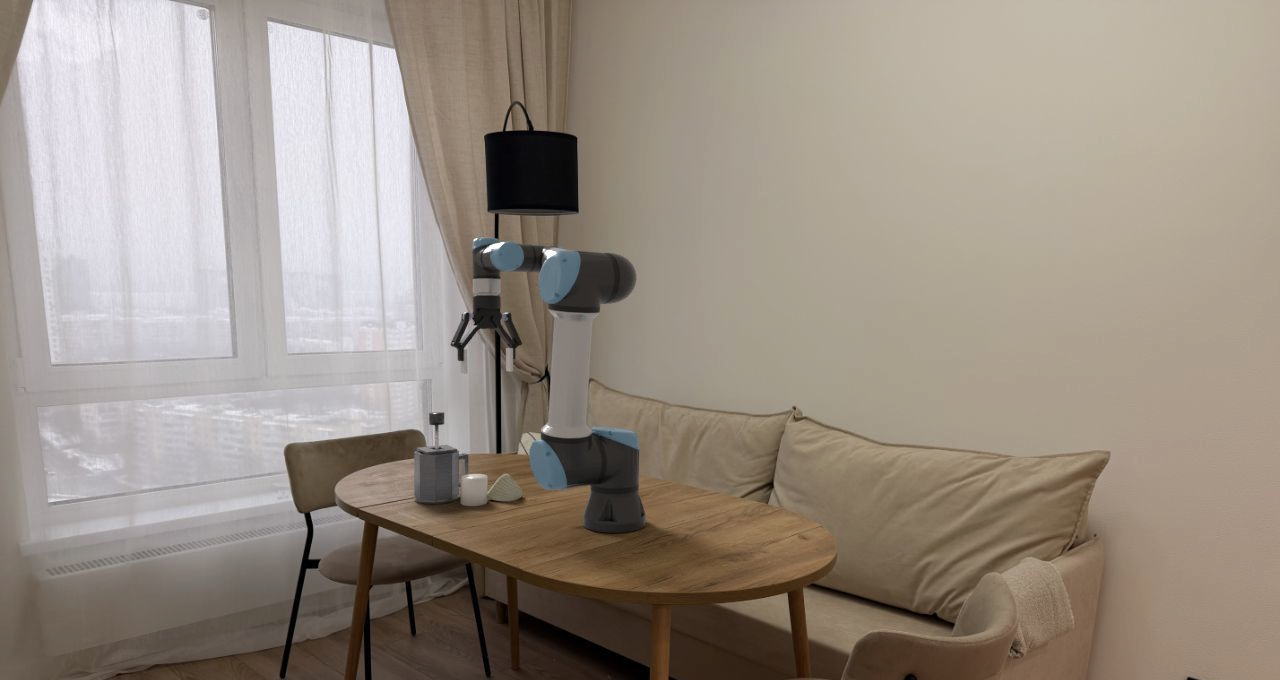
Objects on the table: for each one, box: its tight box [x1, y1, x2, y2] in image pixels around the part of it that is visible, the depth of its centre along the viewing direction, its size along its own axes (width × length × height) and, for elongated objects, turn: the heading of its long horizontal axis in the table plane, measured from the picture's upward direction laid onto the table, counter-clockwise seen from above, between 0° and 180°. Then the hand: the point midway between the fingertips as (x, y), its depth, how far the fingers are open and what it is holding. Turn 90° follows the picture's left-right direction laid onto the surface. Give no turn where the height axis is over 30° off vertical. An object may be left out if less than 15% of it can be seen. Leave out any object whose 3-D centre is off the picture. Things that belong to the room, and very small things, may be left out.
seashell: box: [487, 473, 523, 502], centre depth 209 cm, size 8×8×8 cm
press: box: [413, 444, 469, 505], centre depth 208 cm, size 11×14×14 cm
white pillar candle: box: [459, 473, 488, 507], centre depth 204 cm, size 7×7×7 cm
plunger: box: [428, 411, 445, 455], centre depth 207 cm, size 8×8×19 cm
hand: (487, 372), depth 210 cm, fingers open, 13 cm apart
